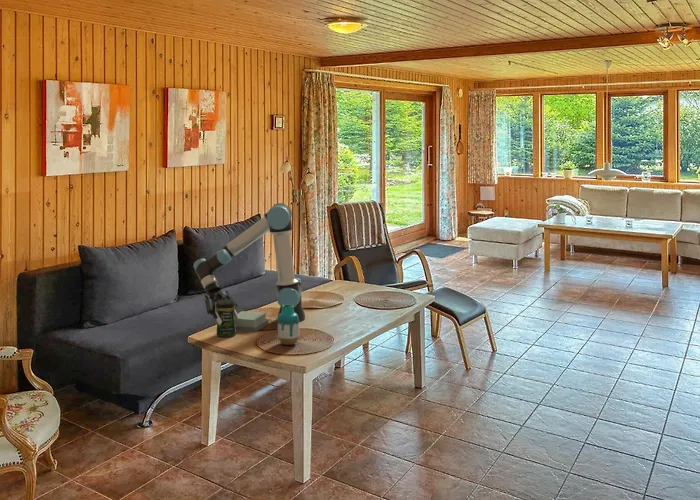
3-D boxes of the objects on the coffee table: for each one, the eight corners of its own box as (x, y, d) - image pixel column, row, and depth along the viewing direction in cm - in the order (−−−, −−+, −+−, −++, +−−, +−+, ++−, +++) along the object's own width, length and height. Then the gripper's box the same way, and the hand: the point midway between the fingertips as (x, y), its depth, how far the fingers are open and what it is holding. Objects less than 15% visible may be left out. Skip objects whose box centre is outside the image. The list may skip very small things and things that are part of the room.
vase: (300, 340, 317) (299, 302, 313) (299, 347, 306) (298, 308, 303) (278, 340, 316) (277, 303, 313) (276, 347, 306) (275, 308, 302)
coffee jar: (216, 338, 322) (214, 302, 318) (217, 333, 329) (215, 298, 326) (236, 337, 323) (234, 301, 320) (236, 332, 331) (234, 297, 328)
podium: (268, 323, 346) (267, 312, 345) (255, 331, 331) (255, 320, 330) (241, 321, 351) (240, 310, 350) (227, 329, 336) (227, 318, 335)
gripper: (226, 286, 341) (244, 321, 332) (189, 293, 326) (207, 330, 317) (232, 278, 336) (250, 313, 328) (194, 285, 321) (212, 321, 313)
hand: (229, 321), depth 323 cm, fingers closed on coffee jar, 9 cm apart
